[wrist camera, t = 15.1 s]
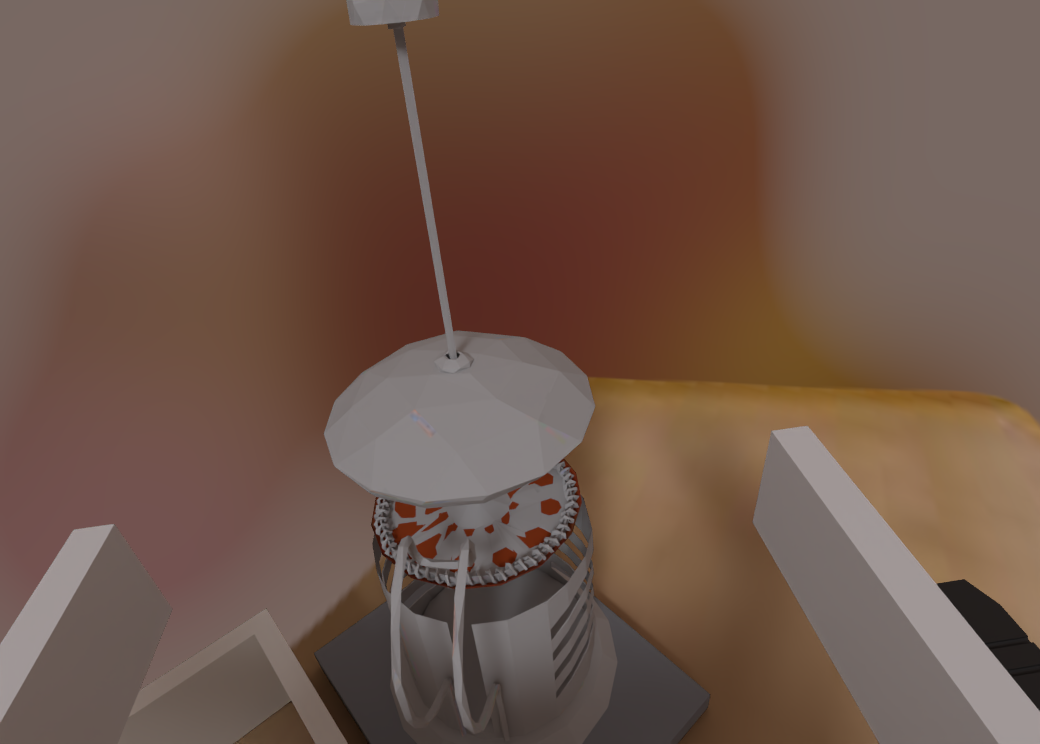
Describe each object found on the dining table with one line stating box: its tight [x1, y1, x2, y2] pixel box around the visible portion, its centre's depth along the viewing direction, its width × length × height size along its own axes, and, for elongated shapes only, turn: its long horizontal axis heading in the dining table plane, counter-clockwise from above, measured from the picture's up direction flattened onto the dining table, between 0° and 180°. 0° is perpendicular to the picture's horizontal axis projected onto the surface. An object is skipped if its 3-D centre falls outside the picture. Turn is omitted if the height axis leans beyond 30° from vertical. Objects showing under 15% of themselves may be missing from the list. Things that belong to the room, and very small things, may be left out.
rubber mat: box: [314, 561, 710, 744], centre depth 26 cm, size 13×11×1 cm
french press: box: [324, 0, 617, 744], centre depth 18 cm, size 10×12×25 cm
